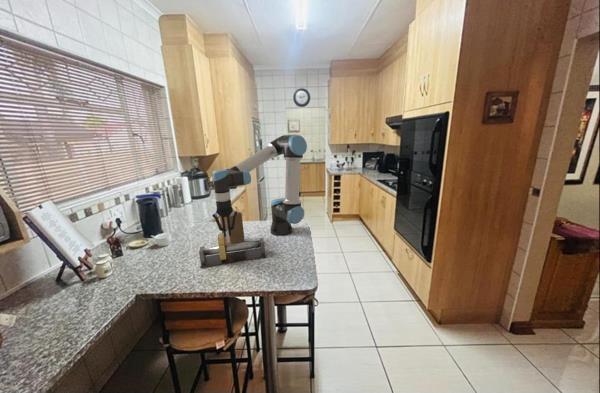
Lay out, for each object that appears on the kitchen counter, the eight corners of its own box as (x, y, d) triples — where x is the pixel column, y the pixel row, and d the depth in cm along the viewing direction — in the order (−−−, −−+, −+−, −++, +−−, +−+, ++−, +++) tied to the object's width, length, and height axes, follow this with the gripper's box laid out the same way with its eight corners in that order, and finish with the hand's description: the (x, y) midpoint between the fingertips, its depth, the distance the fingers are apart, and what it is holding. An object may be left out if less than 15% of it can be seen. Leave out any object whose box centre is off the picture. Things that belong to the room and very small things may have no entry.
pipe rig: (263, 248, 147) (262, 235, 145) (266, 257, 136) (264, 243, 134) (203, 257, 139) (201, 244, 137) (200, 268, 128) (198, 254, 126)
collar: (226, 252, 140) (223, 232, 137) (226, 259, 132) (223, 238, 129) (221, 253, 139) (218, 233, 136) (220, 260, 132) (217, 238, 128)
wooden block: (232, 248, 150) (228, 216, 144) (222, 244, 155) (218, 213, 150) (245, 241, 157) (242, 212, 152) (235, 238, 163) (231, 209, 158)
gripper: (236, 196, 134) (240, 237, 140) (210, 199, 131) (216, 240, 136) (236, 200, 127) (240, 242, 132) (209, 203, 124) (215, 246, 129)
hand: (228, 241), depth 134 cm, fingers closed
